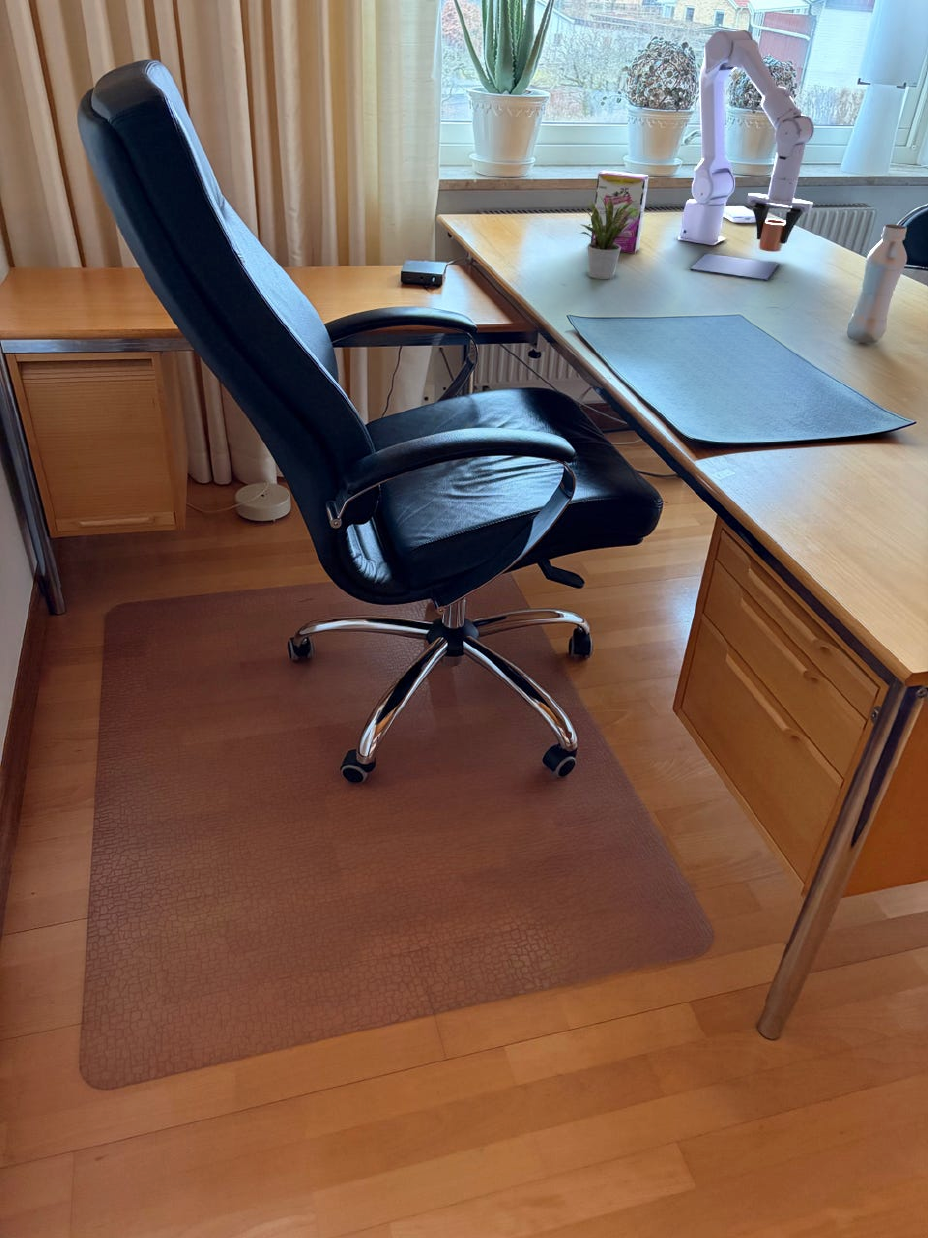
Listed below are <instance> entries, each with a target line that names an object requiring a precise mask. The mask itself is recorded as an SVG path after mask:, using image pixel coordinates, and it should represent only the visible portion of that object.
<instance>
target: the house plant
mask: <svg viewBox="0 0 928 1238" xmlns="http://www.w3.org/2000/svg"><path fill="white" fill-rule="evenodd" d="M599 196H600V195H599ZM600 197H601V196H600ZM605 198H606V197H605ZM601 199H602V198H601ZM606 200H607V199H606ZM586 201H587V203H588V204H589V206H590V208H591V210H592V214H590V212H589V211H588V210H586V209H585V208H583V210H585V212H586V213H587V214H588V216H589V217H590V222H591V224H588V225H586V224H581V223H580V224H579V225H580V226H581V227H584V228H585V229H586V230H588V231H589V232H591V234H592V233H593V234H594V235H595V241H594V240H593V241H594V242H593V243H591V242H590V243H588V244H587V255H588V256H587V258H588V273H589V274H588V275H589V277H591V278H592V279H597V280H609V279H612V278H613V277H614V274H615V271H616V267H617V263H618V260H619V257H620V252H621V251H620V249H621V246H620V245H618V244H615V243H614V241H615V240H616V238H626V239H628V238H627V237H625V236H619V235H620V232H621V231H622V230H623V229H624V228H625V227H626V226H627V225H628V224H631V223H627V224H625V225H624V226H622V227H621V225H622V223H623V222H624V221H625V219H626V218H627V217H628V216H629V215H630V214H631V213H632V212H633V211H636V210H639V209H635V210H632V211H630V212H629V213H627V214H626V215H625V217H624V218H623V219H622V221H621V223H620V224H619V225H618V226H616V224H617V222H618V221H619V220H620V219H621V217H622V216H623V215H624V214H622V213H623V212H624V211H625V210H626V208H627V207H628V206H630V205H631V204H632V203H634V202H636V201H632V202H629V203H627V204H626V205H623V207H622V209H621V210H620V211H619V209H620V207H621V206H620V207H619V208H618V209H617V211H616V214H615V216H614V219H613V222H612V217H613V204H612V202H611V200H610V199H608V202H607V206H606V204H605V202H604V200H603V199H602V201H603V202H604V205H605V210H606V228H605V226H603V222H602V218H601V215H600V213H599V212H598V210H597V209H596V207H595V204H593V203H592V202H591V201H590V200H586ZM577 207H579V208H580V206H577ZM607 207H608V210H607ZM618 211H619V212H618ZM595 220H596V221H595ZM596 222H597V224H596ZM592 226H593V228H592ZM620 227H621V228H620ZM598 228H599V229H598ZM623 233H630V234H631V232H630V231H625V232H623ZM580 234H582V235H586V236H588V237H589V238H590V239H591V238H592V237H591V234H589V233H588V232H586V231H583V232H580V233H579V235H580ZM613 234H614V235H613ZM612 236H613V237H612ZM618 236H619V237H618ZM631 236H632V234H631ZM611 238H612V239H611ZM592 239H593V238H592ZM610 240H611V241H610Z"/></svg>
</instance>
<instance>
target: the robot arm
mask: <svg viewBox="0 0 928 1238" xmlns="http://www.w3.org/2000/svg"><path fill="white" fill-rule="evenodd" d="M703 46H704V47H703V56H704V57H703V61H702V65H701V68H700V72H699V107H700V108H699V110H700V111H699V113H700V114H699V115H700V144H701V145H700V147H701V150H700V151H701V160H700V162H699V163H698V164H697V166H696V167H695V168H694V177H693V181H692V184H691V194H692V197H693V198H694V199H689V200H687V201H686V203H685V205H684V208H683V212H682V217H681V225H680V230H679V236H678V237H677V239H678V240H679V241H684V242H690V243H697V244H701V245H702V244H703V245H710V246H716V245H717V244H719V243H721V242H723V241H725V240H726V237H724V236H721V232H722V227H723V222H724V211H725V206H727V204H726V203H727V202H728V200H729V197H730V196H731V195H732V194H733V193H734V191H735V187H736V178H735V176H734V173H733V167H732V166H733V165H732V163H731V161H730V160H729V159H728V158H727V155H726V112H725V111H726V108H725V107H726V105H725V104H726V103H725V100H726V99H725V81H726V80H727V78H728V77H729V76H730V75H731V74H732V72H733V71H734V70H735V69H739V70H742V71H743V72H744V74H745V75H746V76H747V78H748V79H749V81H750V82H751V83H752V84H753V85H754V87H755V89H756V90H757V92H758V93H759V94H760V96H761V97H762V100H761V109H762V110H763V112H764V113H765V115H766V117H767V118H768V120H769V122H770V123H771V125H772V127H773V128H774V129H775V132H774V140H775V142H776V151H775V152H776V154H775V159H774V163H773V164H774V165H773V170H772V174H771V179H770V184H769V188H768V193H767V194H764V193H763V194H762V193H753V192H751V193H748V195H747V200H746V204H749V205H754V206H753V208H752V212H754V216H755V220H756V222H755V226H756V240H760V236H761V231H762V226H763V222H764V220H766V219H768V218H767V217H768V214H769V211H770V208H771V207H772V208H777V209H785V210H788V211H786V214H785V221H786V222H785V228H784V232H783V236H782V240H781V243H782V244H783V245H784V244H786V243H787V242H788V239H789V237H790V235H791V233H792V231H793V229H794V227H795V226H796V224H797V223H798V221H799V219H800V218H801V216H802V215H803V214H804V213H807V214H809V213H811V212H812V209H813V205H814V202H812V201H807V200H803V199H799V198H795V194H796V189H797V185H798V179H799V175H800V171H801V167H802V162H803V158H804V153H805V148H806V144H808V143H809V142H810V140H811V139H812V137H813V136H814V131H815V130H814V127H815V126H814V123H813V121H812V120H813V119H812V118H811V117H810V116H808V115H804V114H802V113H803V112H802V110H801V108H798V107H797V104H795V102H794V100H793V99H792V97H791V95H792V94H793V93H792V92H791V89H789V88H788V89H786V87H784V86H777V84H776V82H775V79H774V78H773V76H772V74H771V72H770V70H769V68H768V66H767V64H766V63H765V61H764V59H763V57H762V55H761V53H760V50H759V43H758V42H757V41H756V40H755V39H754V36H753V34H752V33H751V32H750V31H749V30H746V29H740V30H726V31H725V30H717V31H715V32H714V33H713V34H712V35H710V38H709V39H708V40H707V41H706V43H705V44H704V45H703Z"/></svg>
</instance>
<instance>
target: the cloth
mask: <svg viewBox="0 0 928 1238" xmlns="http://www.w3.org/2000/svg"><path fill="white" fill-rule="evenodd" d="M779 266H780V263H777V262H770V261H763V260H757V259H756V260H755V259H749V258H741V257H734V256H726V255H720V254H713V253H705V254H704V255H703V256H702V257H701V258H700V259H699V260H698V261H697V262H695V264H694V265H693V266H692V267H690V271H695V272H703V273H710V274H716V275H724V276H730V277H736V278H743V279H751V280H758V281H765V282H767V281H768V280H769V278H770V277H771V276H772V275H773V273H774V272H775V271H776V270H777V268H778V267H779Z"/></svg>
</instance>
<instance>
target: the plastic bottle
mask: <svg viewBox="0 0 928 1238" xmlns="http://www.w3.org/2000/svg"><path fill="white" fill-rule="evenodd" d="M882 229H883V230H882V232H881V234H880V238H881V240H880V241H879V242H878V243H876V245H875V246H874V247H873V248H872V249H871V250H870V251H869V253H868V255H867V257H866V261H865V262H866V263H865V268H864V276H863V281H862V285H861V290H860V293H859V296H858V300H857V302H856V305H855V307H854V311H853V313H852V314H851V316H850V318H849V319H848V323H847V327H846V334H847V338H848V339H850V340H851V341H853V342H857V343H861V344H862V343H863V344H875V343H878V342H879V341H880V340H881V339H883V337H884V335H885V333H886V331H887V326H888V316H889V311H890V306H891V301H892V299H893V296H894V292H895V290H896V287H897V284H898V282H899V279H900V277H901V275H902V273H903V271H904V268H905V266H906V264H907V261H908V255H907V252H906V249H905V246H904V244H903V241H904V240H905V239H906V234H907V229H908V227H907V226H904V225H902V224H891V223H890V224H884V226H883V228H882Z"/></svg>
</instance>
